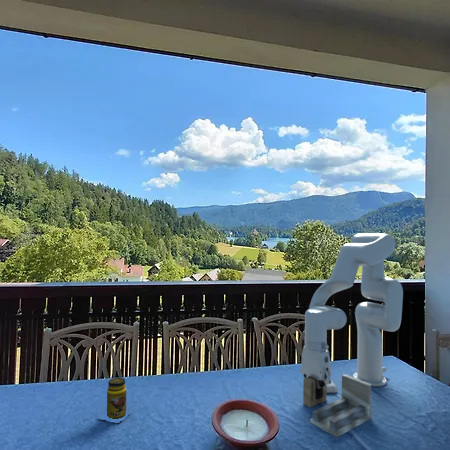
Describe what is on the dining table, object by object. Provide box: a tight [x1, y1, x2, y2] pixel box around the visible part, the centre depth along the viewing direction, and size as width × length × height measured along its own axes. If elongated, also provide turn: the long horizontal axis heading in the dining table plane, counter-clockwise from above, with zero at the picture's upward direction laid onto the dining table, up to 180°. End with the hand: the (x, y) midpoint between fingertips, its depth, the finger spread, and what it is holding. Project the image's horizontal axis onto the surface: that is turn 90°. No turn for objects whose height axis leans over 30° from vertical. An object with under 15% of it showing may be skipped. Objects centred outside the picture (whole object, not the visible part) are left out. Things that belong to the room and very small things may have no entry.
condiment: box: [106, 376, 127, 419], centre depth 119 cm, size 7×8×12 cm
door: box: [302, 376, 328, 408], centre depth 130 cm, size 9×3×9 cm, turn 127°
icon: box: [327, 379, 338, 394], centre depth 143 cm, size 12×4×10 cm
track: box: [309, 373, 372, 438], centre depth 118 cm, size 18×10×11 cm, turn 127°
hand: (314, 395), depth 130 cm, fingers closed on door, 3 cm apart
